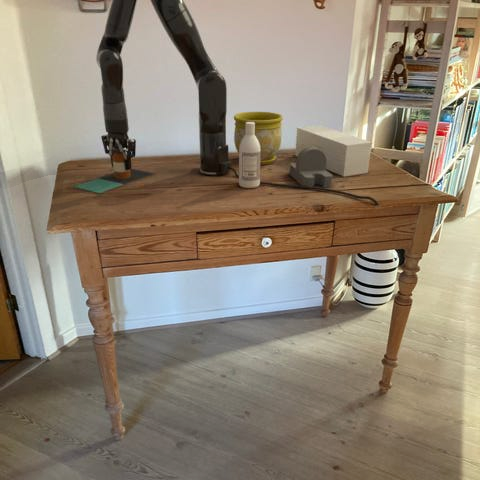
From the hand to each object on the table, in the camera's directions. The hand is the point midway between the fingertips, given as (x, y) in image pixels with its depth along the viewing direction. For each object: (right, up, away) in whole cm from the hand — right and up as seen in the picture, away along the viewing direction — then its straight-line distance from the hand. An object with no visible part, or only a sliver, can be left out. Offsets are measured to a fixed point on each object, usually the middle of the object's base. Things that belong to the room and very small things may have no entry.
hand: (121, 168), depth 179 cm
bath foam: (+44, -7, -5) cm, 45 cm away
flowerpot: (+47, +9, +22) cm, 53 cm away
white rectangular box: (+75, +7, +18) cm, 77 cm away
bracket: (+65, -4, +1) cm, 65 cm away
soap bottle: (0, -3, +2) cm, 3 cm away
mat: (-2, -5, -1) cm, 5 cm away
